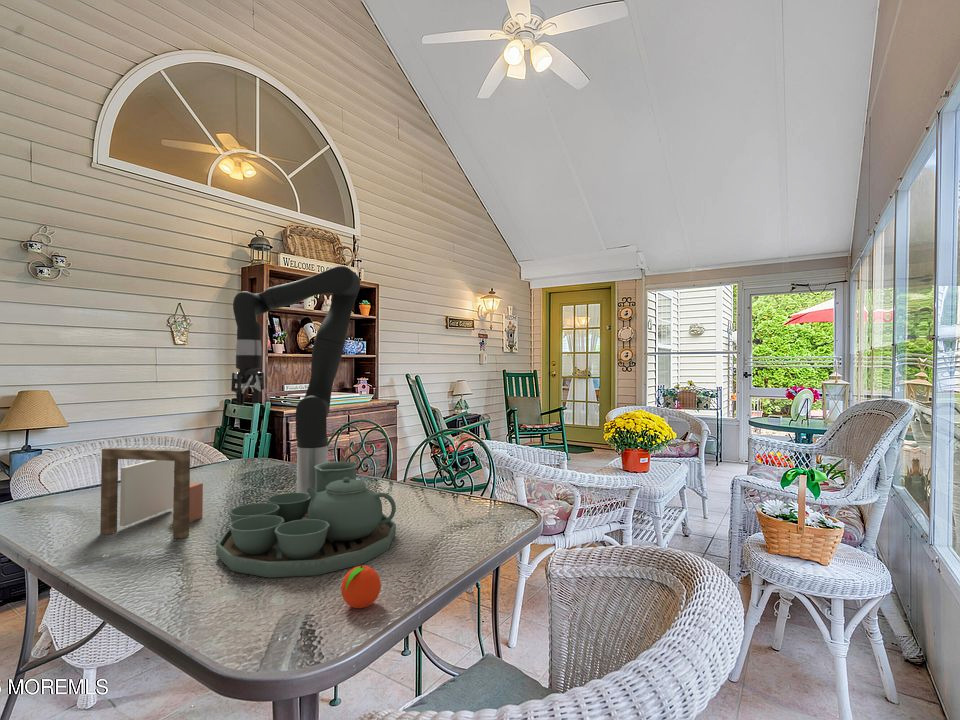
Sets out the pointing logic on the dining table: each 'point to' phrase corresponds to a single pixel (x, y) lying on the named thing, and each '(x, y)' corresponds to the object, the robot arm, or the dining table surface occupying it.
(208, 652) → the dining table surface
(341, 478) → the tea set
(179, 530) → the door frame
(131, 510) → the door
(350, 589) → the clementine
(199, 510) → the salmon orange block
